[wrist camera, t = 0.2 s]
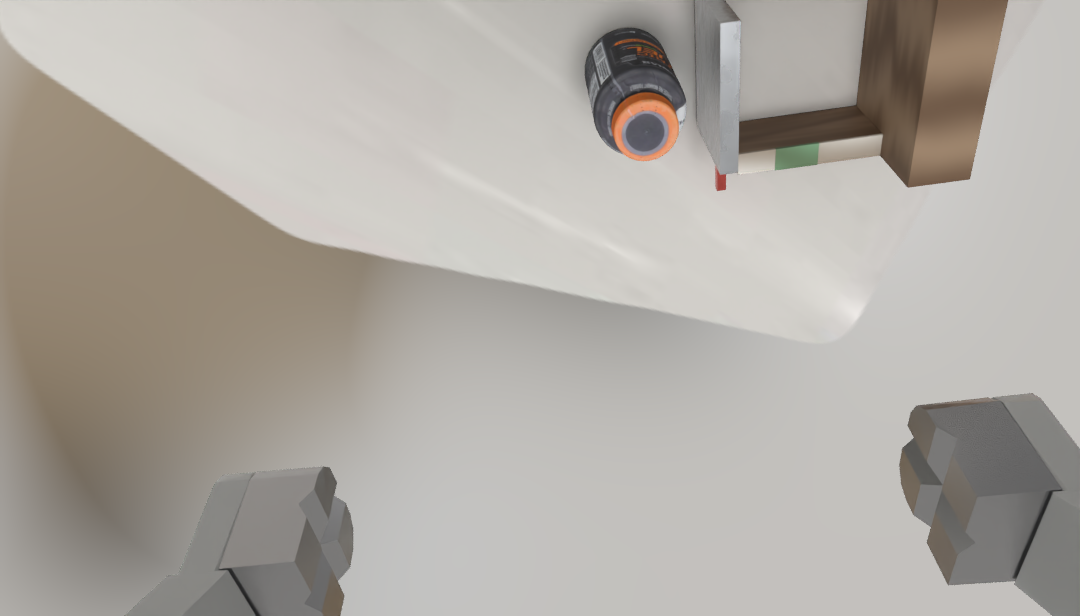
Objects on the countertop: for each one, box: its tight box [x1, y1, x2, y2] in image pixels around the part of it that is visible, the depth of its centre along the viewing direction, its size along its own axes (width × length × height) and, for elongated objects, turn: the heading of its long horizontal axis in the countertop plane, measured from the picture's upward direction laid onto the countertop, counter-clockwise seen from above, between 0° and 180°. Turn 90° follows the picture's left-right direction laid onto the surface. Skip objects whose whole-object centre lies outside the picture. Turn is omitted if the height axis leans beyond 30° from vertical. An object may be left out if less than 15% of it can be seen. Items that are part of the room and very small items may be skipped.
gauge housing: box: [737, 0, 1008, 187], centre depth 52 cm, size 14×14×10 cm
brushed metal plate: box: [695, 0, 741, 191], centre depth 53 cm, size 12×1×8 cm, turn 8°
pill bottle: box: [585, 28, 686, 161], centre depth 52 cm, size 6×6×11 cm
